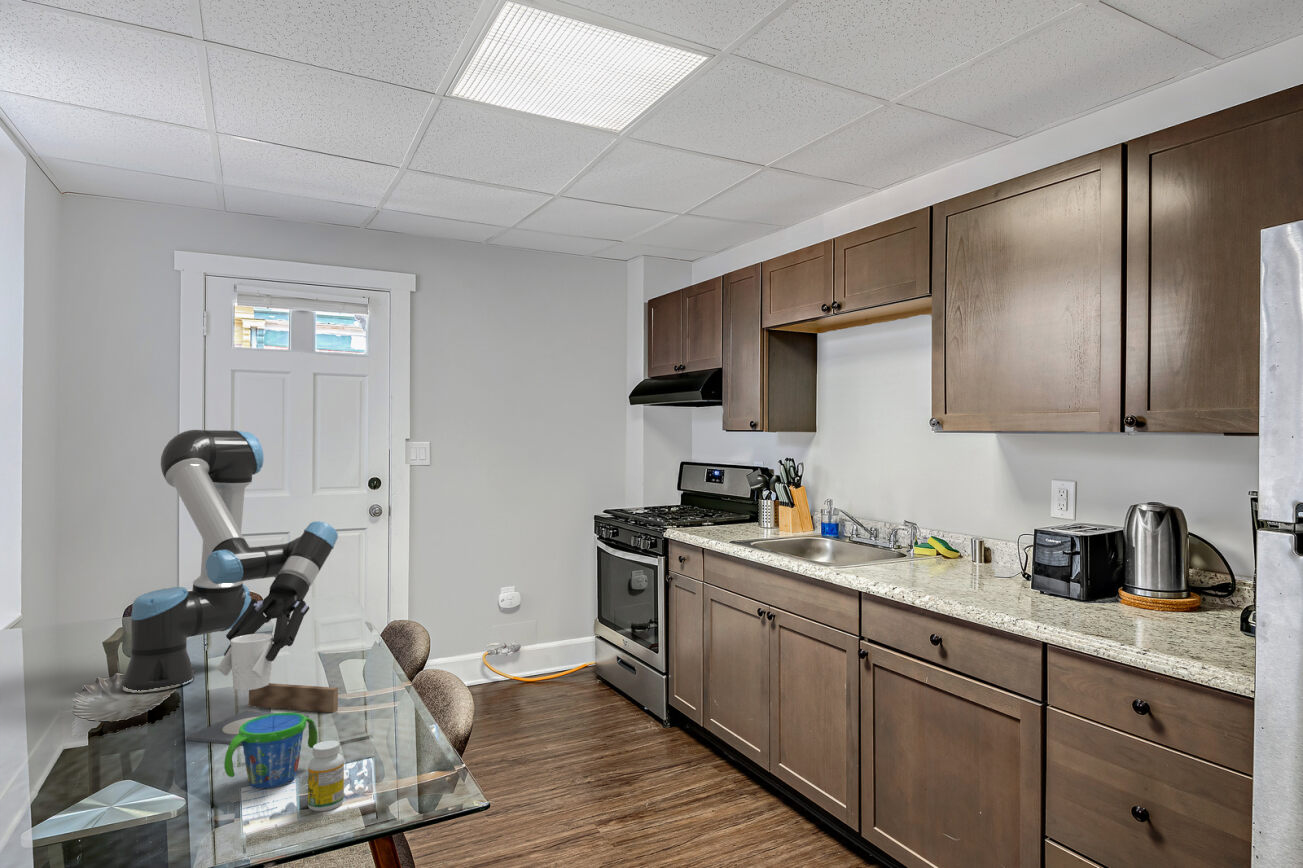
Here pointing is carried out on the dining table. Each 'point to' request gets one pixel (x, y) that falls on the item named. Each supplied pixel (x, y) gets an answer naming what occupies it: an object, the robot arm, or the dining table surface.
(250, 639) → the white cup
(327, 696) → the low wall
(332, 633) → the dining table surface
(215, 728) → the slate mat
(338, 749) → the supplement bottle
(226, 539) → the robot arm
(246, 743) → the snack cup
